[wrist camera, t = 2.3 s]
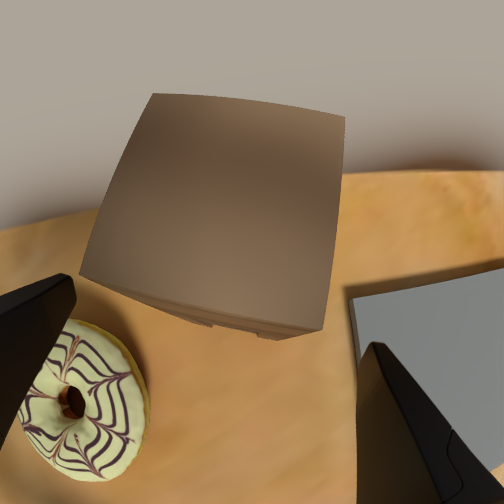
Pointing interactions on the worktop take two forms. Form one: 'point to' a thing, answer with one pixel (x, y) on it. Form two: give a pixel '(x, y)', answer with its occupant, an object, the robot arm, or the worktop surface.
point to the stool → (224, 214)
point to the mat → (447, 350)
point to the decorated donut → (88, 405)
